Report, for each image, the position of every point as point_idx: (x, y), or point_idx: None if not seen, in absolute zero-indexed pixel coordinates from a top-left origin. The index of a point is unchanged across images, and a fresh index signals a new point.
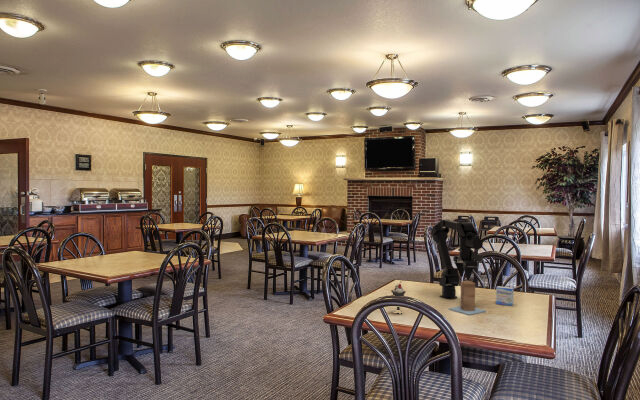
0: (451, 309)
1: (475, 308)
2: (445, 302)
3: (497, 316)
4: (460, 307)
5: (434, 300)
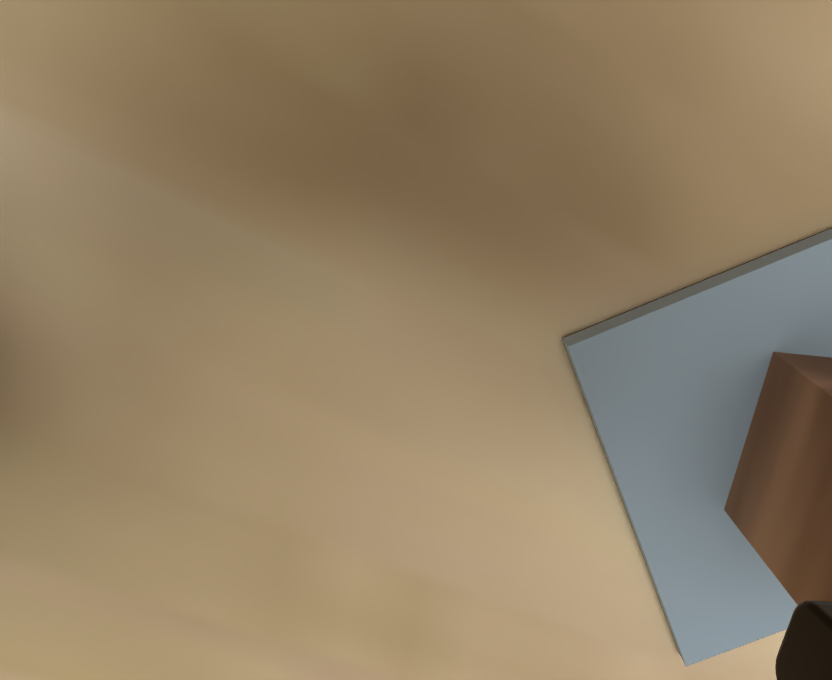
0: (732, 644)
1: (818, 280)
2: (230, 543)
3: None
4: (685, 493)
5: (77, 654)
